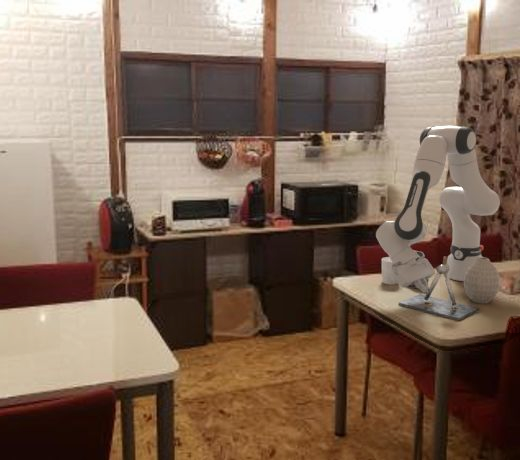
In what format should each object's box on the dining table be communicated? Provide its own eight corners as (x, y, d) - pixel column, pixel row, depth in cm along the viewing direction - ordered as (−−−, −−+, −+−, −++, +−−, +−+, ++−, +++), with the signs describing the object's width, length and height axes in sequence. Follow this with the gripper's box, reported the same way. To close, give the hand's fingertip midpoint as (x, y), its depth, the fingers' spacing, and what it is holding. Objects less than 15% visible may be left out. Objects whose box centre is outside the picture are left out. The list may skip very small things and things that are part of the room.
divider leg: (423, 296, 224) (441, 262, 217) (430, 301, 222) (448, 267, 215) (421, 297, 223) (438, 263, 216) (428, 302, 221) (446, 268, 214)
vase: (501, 299, 230) (505, 257, 227) (493, 308, 220) (497, 264, 217) (467, 293, 237) (470, 252, 234) (458, 302, 227) (461, 259, 224)
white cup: (376, 282, 253) (377, 259, 251) (388, 278, 259) (389, 256, 257) (392, 286, 248) (393, 262, 246) (403, 282, 253) (404, 259, 251)
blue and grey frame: (419, 296, 234) (422, 248, 230) (478, 310, 217) (482, 259, 214) (398, 305, 224) (400, 254, 220) (458, 320, 207) (462, 266, 203)
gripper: (395, 260, 217) (417, 292, 212) (425, 251, 231) (446, 281, 226) (384, 269, 221) (405, 301, 216) (414, 260, 235) (434, 290, 230)
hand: (426, 291), depth 222 cm, fingers closed, pressing on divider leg
